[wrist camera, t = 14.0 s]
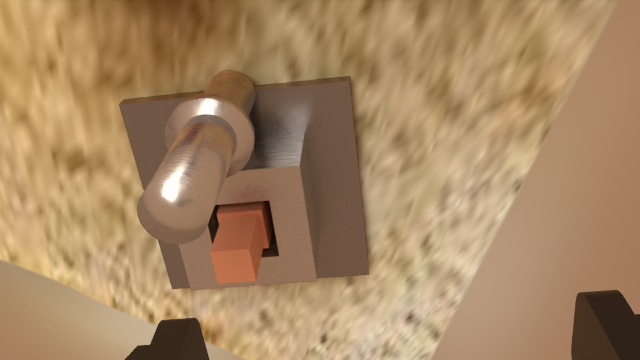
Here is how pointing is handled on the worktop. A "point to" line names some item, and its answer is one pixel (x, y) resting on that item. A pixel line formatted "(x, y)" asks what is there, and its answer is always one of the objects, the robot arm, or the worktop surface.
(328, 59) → the worktop surface
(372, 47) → the worktop surface
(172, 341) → the robot arm
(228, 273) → the stepped block
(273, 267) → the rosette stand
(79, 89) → the worktop surface
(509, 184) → the worktop surface
